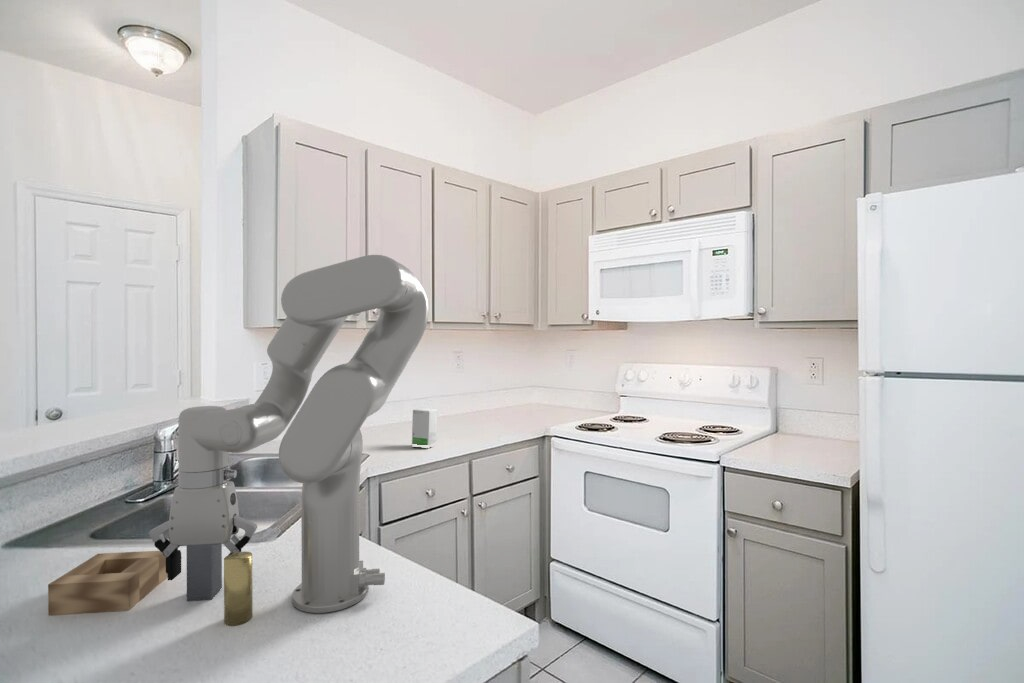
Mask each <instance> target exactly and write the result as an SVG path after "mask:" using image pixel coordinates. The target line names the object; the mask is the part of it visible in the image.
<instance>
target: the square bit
mask: <svg viewBox="0 0 1024 683" xmlns="http://www.w3.org/2000/svg"><path fill="white" fill-rule="evenodd" d="M222 547H223V544H215V545H213V544H197V545H187V546H186V602H195V601H212V600H213V599H214V598H215V597H216V596H217V595H218V593H219V592H220V591H221V590H222V589H223V581H222V580H223V575H222V574H223V571H222V570H223V568H222V567H223V566H222V565H223V563H222V562H223V560H222V559H223V558H222V557H223V555H222V554H223V550H222V549H223V548H222ZM221 588H222V589H221ZM220 589H221V590H220ZM215 595H216V596H215ZM213 597H214V598H213Z"/></svg>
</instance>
